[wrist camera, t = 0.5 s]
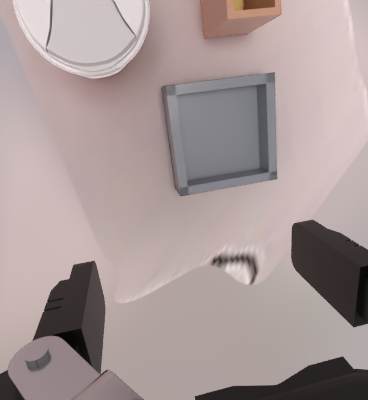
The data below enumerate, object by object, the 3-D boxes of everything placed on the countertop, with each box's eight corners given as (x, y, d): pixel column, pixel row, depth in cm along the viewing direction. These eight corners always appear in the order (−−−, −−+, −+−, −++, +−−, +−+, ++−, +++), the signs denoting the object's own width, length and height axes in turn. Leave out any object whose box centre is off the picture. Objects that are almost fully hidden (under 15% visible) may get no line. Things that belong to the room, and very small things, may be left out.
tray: (161, 87, 34) (165, 85, 30) (260, 75, 35) (274, 72, 32) (175, 188, 38) (180, 196, 34) (264, 172, 39) (277, 178, 36)
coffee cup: (47, 6, 29) (-22, -84, 15) (130, -4, 31) (135, -97, 17) (71, 95, 32) (31, 86, 18) (146, 82, 33) (163, 65, 19)
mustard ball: (211, -5, 31) (220, -15, 29) (236, -7, 32) (247, -17, 29) (214, 25, 32) (222, 18, 30) (238, 23, 33) (248, 16, 30)
